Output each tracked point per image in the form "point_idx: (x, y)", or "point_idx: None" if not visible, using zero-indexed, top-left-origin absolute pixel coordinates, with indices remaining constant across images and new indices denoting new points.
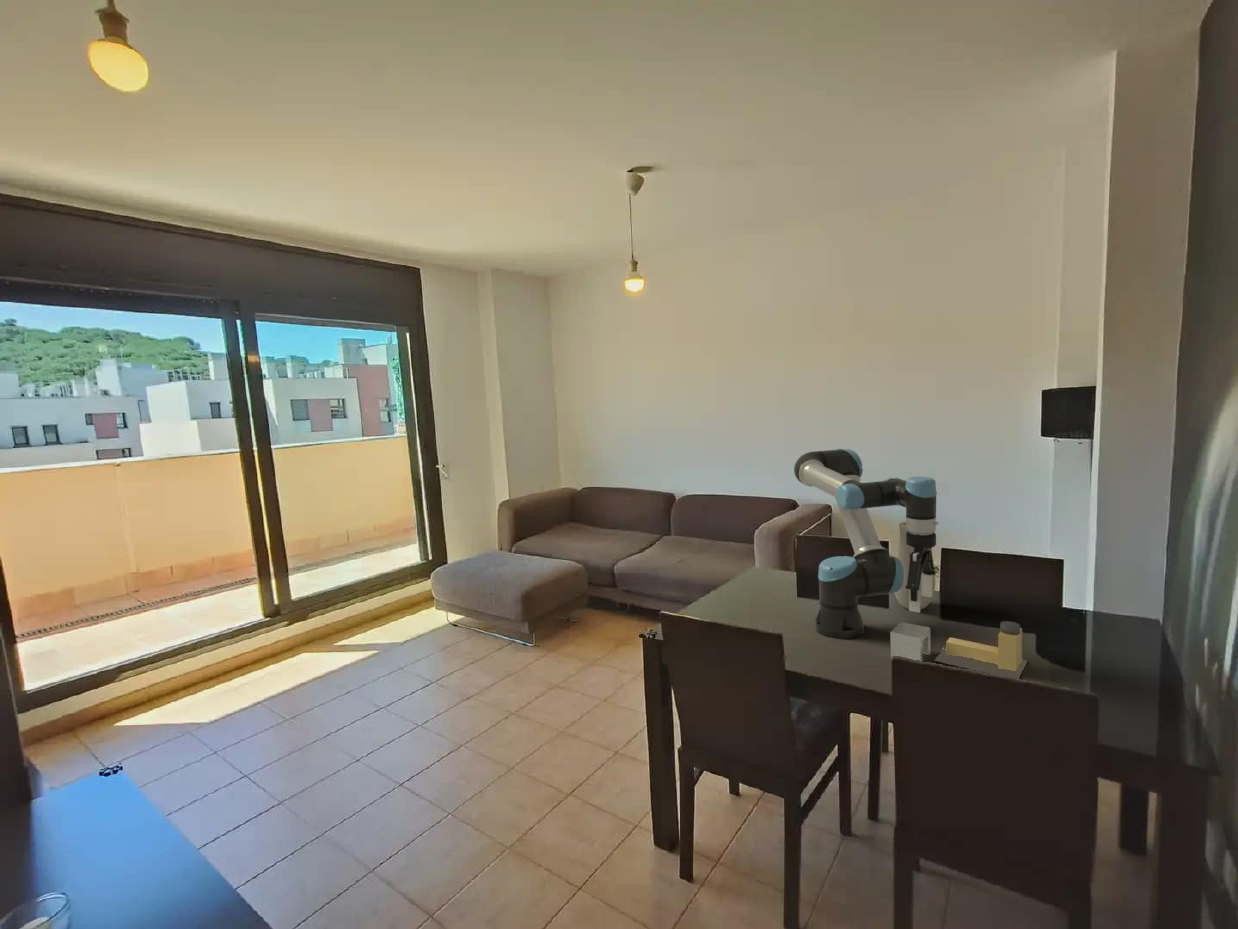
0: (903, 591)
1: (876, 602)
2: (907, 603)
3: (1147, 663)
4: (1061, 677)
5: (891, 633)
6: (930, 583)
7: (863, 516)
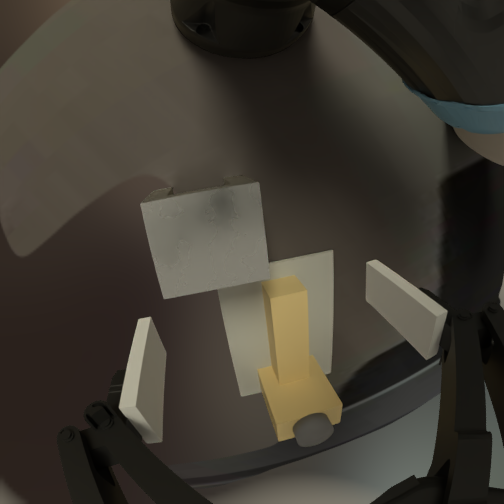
0: None
1: None
2: None
3: (386, 419)
4: None
5: (142, 206)
6: (403, 331)
7: None
